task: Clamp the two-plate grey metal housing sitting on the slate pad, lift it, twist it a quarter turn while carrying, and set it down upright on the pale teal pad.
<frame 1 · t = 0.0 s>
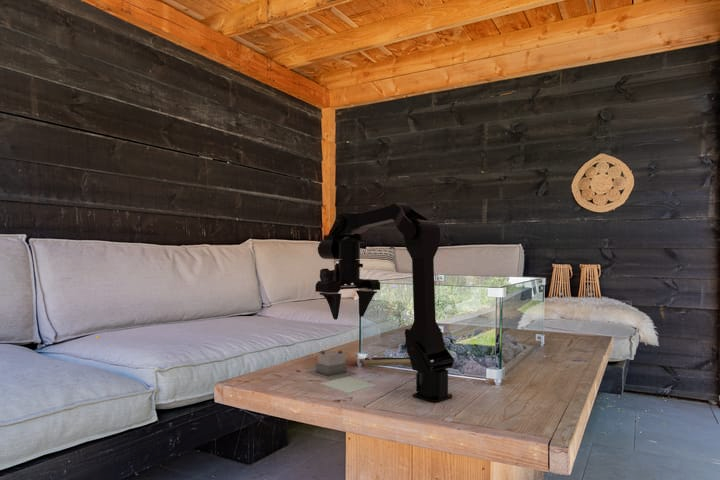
hand: (348, 318, 128), 15 cm above the table, fingers open, 9 cm apart
housing: (331, 372, 121), point 1 cm above the table, touching stand a
stand a: (331, 378, 121), on the table
stand b: (348, 390, 111), on the table
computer: (388, 369, 134), on the table
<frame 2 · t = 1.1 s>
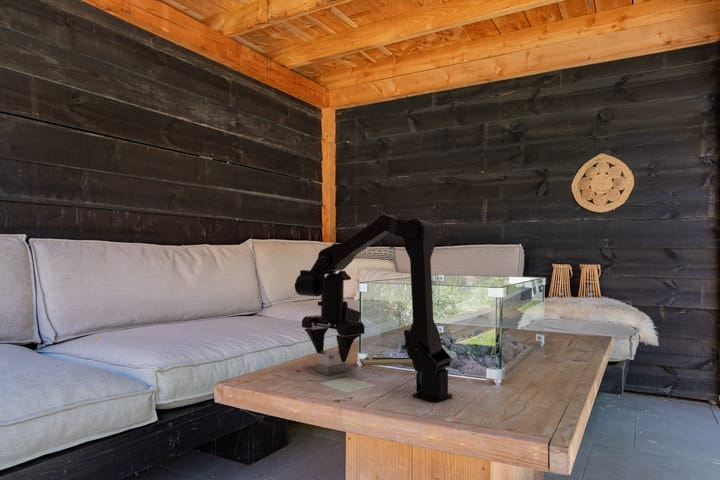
hand: (331, 358, 122), 5 cm above the table, fingers open, 9 cm apart
nothing on the table moved.
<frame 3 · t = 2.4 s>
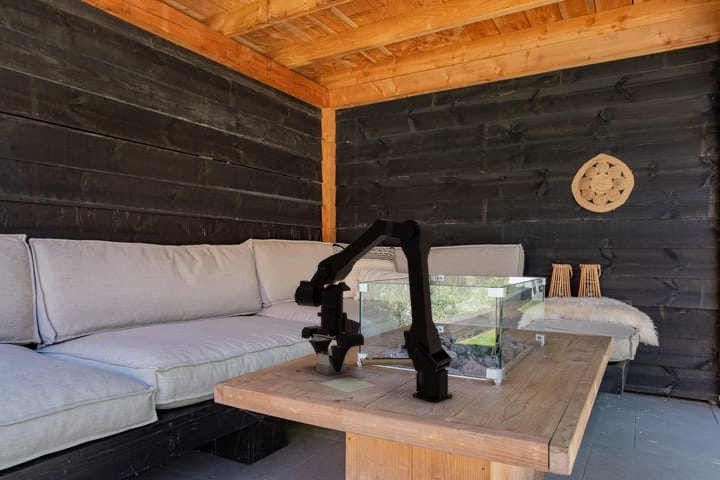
hand: (331, 369, 122), 2 cm above the table, fingers closed on housing, 5 cm apart
housing: (331, 372, 121), point 1 cm above the table, touching gripper, stand a
everything else where it was.
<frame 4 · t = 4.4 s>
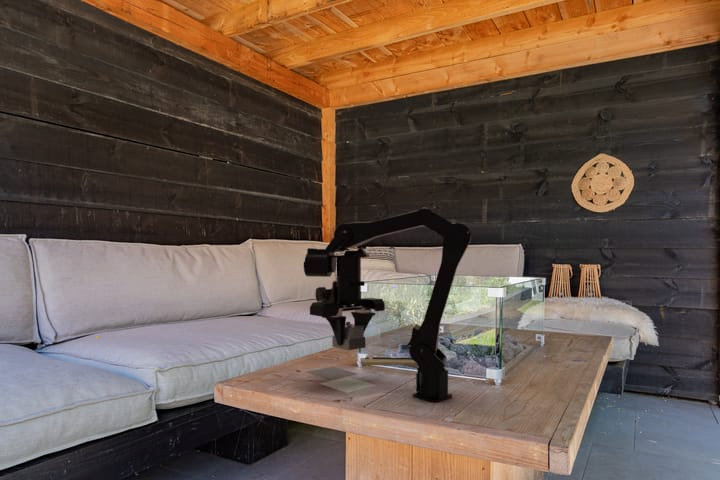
hand: (348, 343, 111), 11 cm above the table, fingers closed on housing, 5 cm apart
housing: (348, 347, 111), point 10 cm above the table, touching gripper
everything else where it was.
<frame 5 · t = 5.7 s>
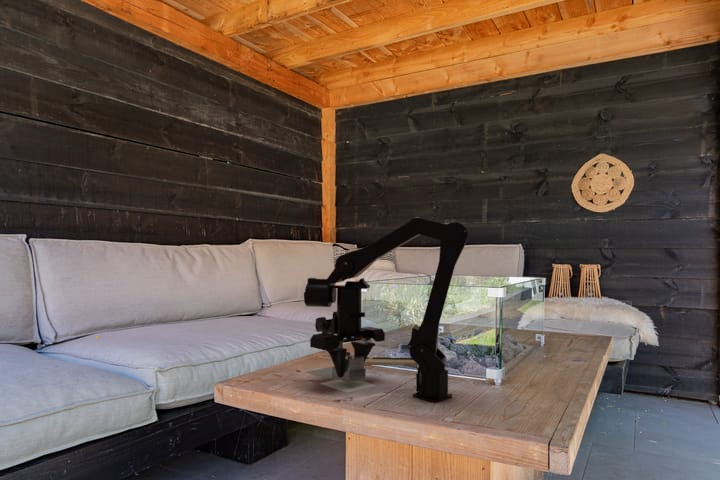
hand: (348, 375, 111), 4 cm above the table, fingers closed on housing, 5 cm apart
housing: (348, 378, 111), point 3 cm above the table, touching gripper
everything else where it was.
when the fingers open (3 cm above the table, at t = 6.6 s): housing stays where it is, resting on stand b.
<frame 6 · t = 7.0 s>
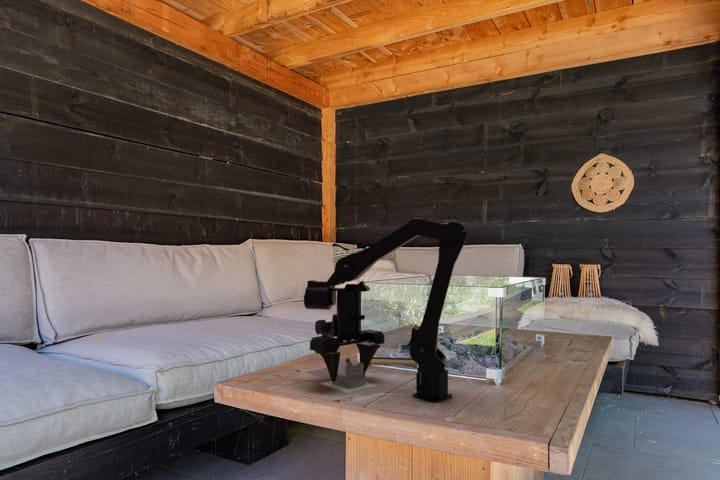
hand: (348, 377, 111), 3 cm above the table, fingers open, 9 cm apart
housing: (348, 384, 111), point 1 cm above the table, touching stand b
everything else where it was.
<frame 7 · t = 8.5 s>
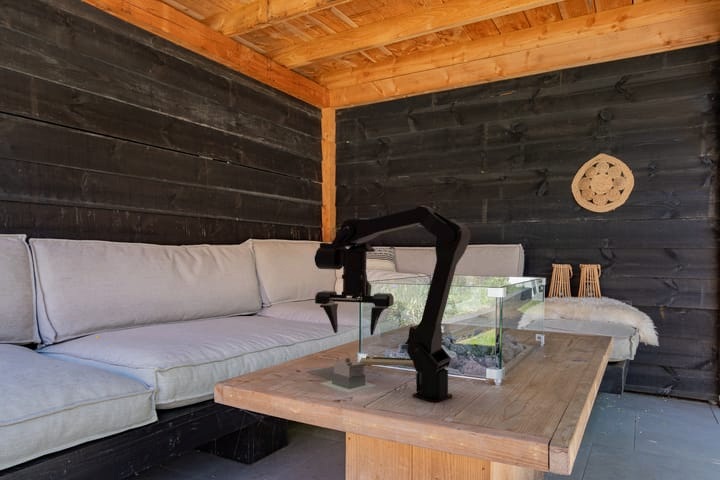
hand: (353, 333, 117), 12 cm above the table, fingers open, 9 cm apart
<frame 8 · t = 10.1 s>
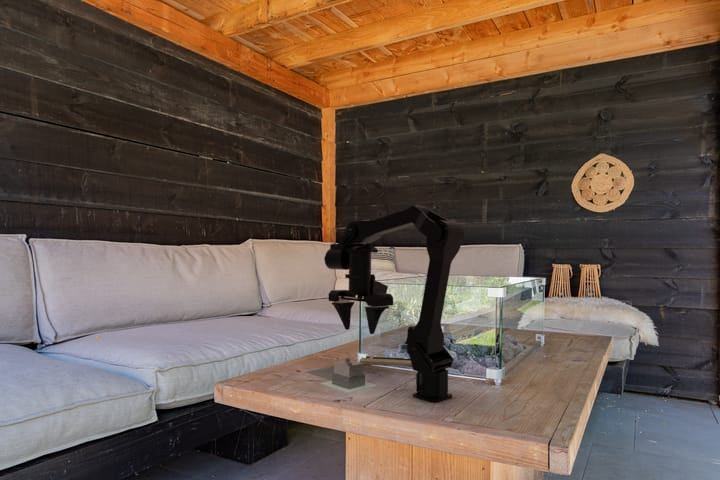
hand: (359, 331, 122), 12 cm above the table, fingers open, 9 cm apart
at the end: housing inside the target area on the stand b (0.1 cm from its centre), point 1.5 cm above the stand b's base; housing tilted 0°; the gripper is holding nothing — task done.
